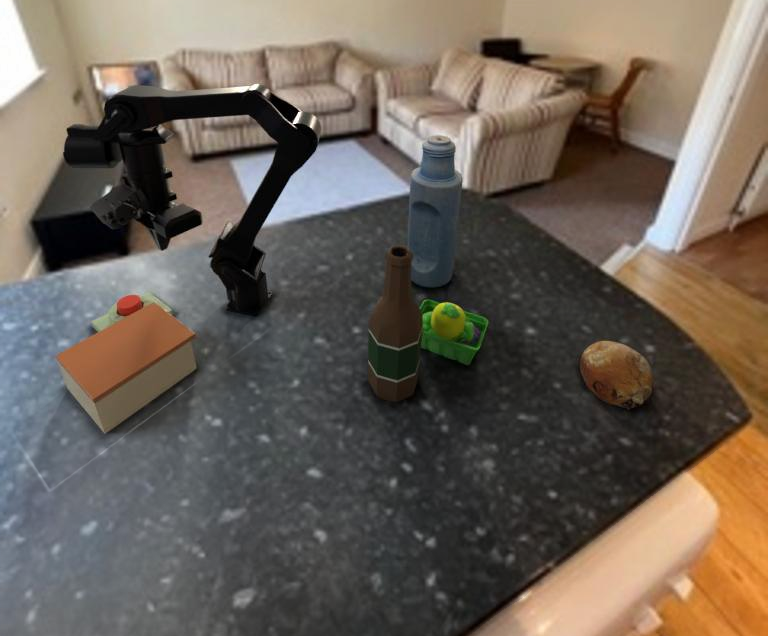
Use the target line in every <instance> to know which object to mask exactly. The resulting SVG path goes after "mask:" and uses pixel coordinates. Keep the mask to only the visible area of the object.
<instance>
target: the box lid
mask: <svg viewBox="0 0 768 636" xmlns="http://www.w3.org/2000/svg"><path fill="white" fill-rule="evenodd" d="M194 339H196V333H195V332H193V331H192V330H191V329H189V327H187V326H186V325H185V324H183V323H182V322H181V321H179V320H178V319H177V318H176V317H174V316H173V315H170V314H169V313H168V312H167V311H165V310H164V309H163V308H162V307H160V306H159V305H158V304H156V303H155V302H153V303H151V304H149V305H147V306H146V307H144V308H142V309H140V310H138V311H136V312H135V313H133V314H131V315H129V316H127V317H125V318H124V319H122V320H120V321H118V322H116V323H114V324H113V325H111V326H109V327H107V328H105V329H103V330H102V331H100V332H98V331H97V332H96V333H94V334H92V335H91V336H89V337H87V338H85V339H83V340H81V341H79V342H78V343H76V344H74V345H72V346H70V347H68V348H67V349H65V350H63V351H61V352H60V353H58V354H55V356H54V357H55V359H56V362H57V361H58V362H59V363H60V364H61V365H62V367H63V368H64V369H65V370H66V371H67V372H68V374H69V375H70V376H71V377H72V378H73V379H74V381H75V382H76V383H77V384H78V385H79V386H80V388H81V389H82V390H83V391H84V392H85V393H86V395H87V396H88V397H89V398H90V399H91V400H92V402H93V403H96V402H98V401H99V400H101V399H102V398H104V397H105V396H107V395H108V394H110V393H111V392H113V391H115V390H116V389H118V388H119V387H121V386H122V385H124V384H125V383H127V382H128V381H130V380H131V379H133V378H135V377H136V376H138V375H139V374H141V373H142V372H144V371H145V370H147V369H148V368H150V367H151V366H153V365H154V364H156V363H158V362H159V361H161V360H162V359H164V358H165V357H167V356H168V355H170V354H171V353H173V352H174V351H176V350H177V349H179V348H181V347H182V346H184V345H185V344H187V343H188V342H190V341H191V342H192V341H193V340H194ZM58 362H57V363H58Z"/></svg>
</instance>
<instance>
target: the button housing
mask: <svg viewBox="0 0 768 636" xmlns="http://www.w3.org/2000/svg"><path fill="white" fill-rule="evenodd" d="M137 295H138V296H139V297H140V299H141V303H142V308H144V307H146V306H147V305H149V304H151V303H153V302H155V303H156V304H158V305H159V306H160V307H162V308H163V309H164V310H165V311H167V312H168V313H169V314H170V315H172V316H173V315H174V313H173V310H172V308H171V307H169V306H168V305H166V304H165V303H164V302H163V301H161V300H159V298H158V297H156V296H154V295H153V294H152V293H150V291H147V292H145V293H143V294H142V295H141V294H137ZM117 302H118V301H116V302H115V303H114V304H113V305H111V307H110V308H109V309H108V312H107V313H105V314H103V315H102V316H99V317H98V318H96V319H94V320H92V321H91V325H92V327H93V328H94V330H96V332H97V333H98V332H100V331H102V330H103V329H105V328H107V327H109V326H111V325H113V324H114V323H116V322H118V321H120V320H122V319H124V318H125V317H127V316H121V315H120V314H119V312H118V308H117Z"/></svg>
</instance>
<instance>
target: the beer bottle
mask: <svg viewBox="0 0 768 636" xmlns="http://www.w3.org/2000/svg"><path fill="white" fill-rule="evenodd" d="M413 258H414V257H413V253H412V251H411V250H410V249H409V248H408V247H407V246H404V245H398V244H397V245H393V246H390V247H389V248H388V250H387V251H386V254H385V257H384V259H385V260H386V268H385V277H384V279H385V280H384V286H383V293H382V295H381V296H380V297H379V299H378V300H377V303H376V304H375V306H374V308H373V310H372V312H371V315H370V317H369V321H368V337H367V339H368V340H367V341H368V343H367V344H368V346H367V378H368V379H367V380H368V383H369V385H370V387H371V388H372V390H373V393H374V394H375V395H376V397H377V398H378V399H381V400H385V401H389V402H391V403H398V402H401V401H403V400H405V399H407V398H410V397H413V395H414V393H415V390H416V386H417V383H418V380H419V375H420V366H421V355H422V353H421V352H422V348H421V342H422V330H423V316H422V313H421V311H420V306H419V305H418V304H417V303H416V302H415V300H414V298H413V292H412V281H411V263H412V260H413Z"/></svg>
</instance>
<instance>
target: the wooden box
mask: <svg viewBox="0 0 768 636" xmlns="http://www.w3.org/2000/svg"><path fill="white" fill-rule="evenodd" d="M56 362H57V364H58V367H59V369H60V372H61V375H62V378H63V380H64V382H65V385H66V388H67V390H68V391H69V392H70V394H72V396H73V397H74V398H75V399H76V401H77V403H79V404H80V406H81V407H82V408H83V409H84V410H85V412H86V413H87V414H88V415H89V417H90V418H91V419H92V420H93V421H94V423H95V424H96V425H97V426H98V427H99V429H100V430H101V431H102V432H103V433H104V434H105V435H106V434H107V433H108V432H110V431H112V430H113V429H114V428H115V427H117V426H118V425H119V424H121V423H122V422H124V421H125V420H127V419H128V418H129V417H131V416H132V415H134V414H136V413H137V412H138V411H139V410H141V409H142V408H144V407H145V406H146V405H148V404H149V403H150V402H152V401H153V400H155V399H156V398H158V397H159V396H160V395H162V394H163V393H164V392H166V391H167V390H169V389H170V388H172V387H173V386H174V385H176V384H177V383H179V382H180V381H181V380H183V379H184V378H186V377H187V376H189V374H191V373H193V372H194V371H195V370H196V369H198V368H197V363H196V359H195V354H194V349H193V345H192V340H191V341H190V342H188V343H187V344H185V345H184V346H182V347H181V348H179V349H177V350H176V351H174V352H173V353H171V354H170V355H168V356H167V357H165V358H164V359H162V360H161V361H159V362H158V363H156V364H154V365H153V366H151V367H150V368H148V369H147V370H145V371H144V372H142V373H141V374H139V375H138V376H136V377H135V378H133V379H131V380H130V381H128V382H127V383H125V384H124V385H122V386H121V387H119V388H118V389H116V390H115V391H113V392H111V393H110V394H108V395H107V396H105V397H104V398H102V399H101V400H99V401H98V402H96V403H93V402H92V400H91V399H90V398H89V397H88V396H87V395H86V393H85V392H84V391H83V390H82V389H81V388H80V386H79V385H78V384H77V383H76V382H75V381H74V379H73V378H72V377H71V376H70V375H69V374H68V372H67V371H66V370H65V369H64V368H63V367H62V365H61V364H60V363H59V362H58V361H57V360H56Z"/></svg>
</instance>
